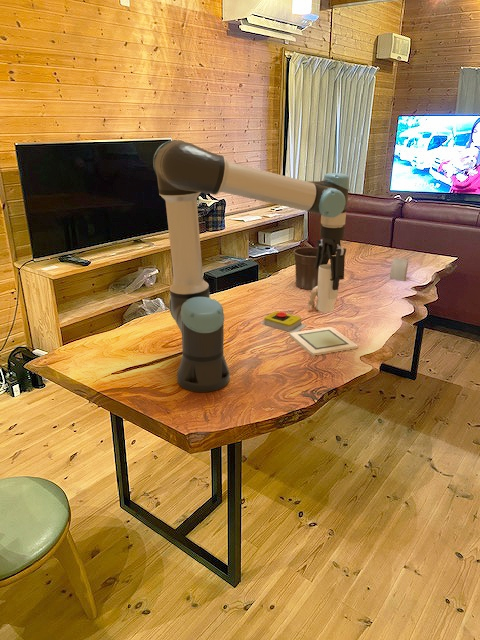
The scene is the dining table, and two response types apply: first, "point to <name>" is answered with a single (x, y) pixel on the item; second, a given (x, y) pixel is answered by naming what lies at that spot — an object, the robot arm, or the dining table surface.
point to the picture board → (322, 341)
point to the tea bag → (399, 269)
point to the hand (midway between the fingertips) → (326, 294)
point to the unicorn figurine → (313, 298)
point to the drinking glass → (324, 289)
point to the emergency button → (283, 322)
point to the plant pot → (306, 268)
